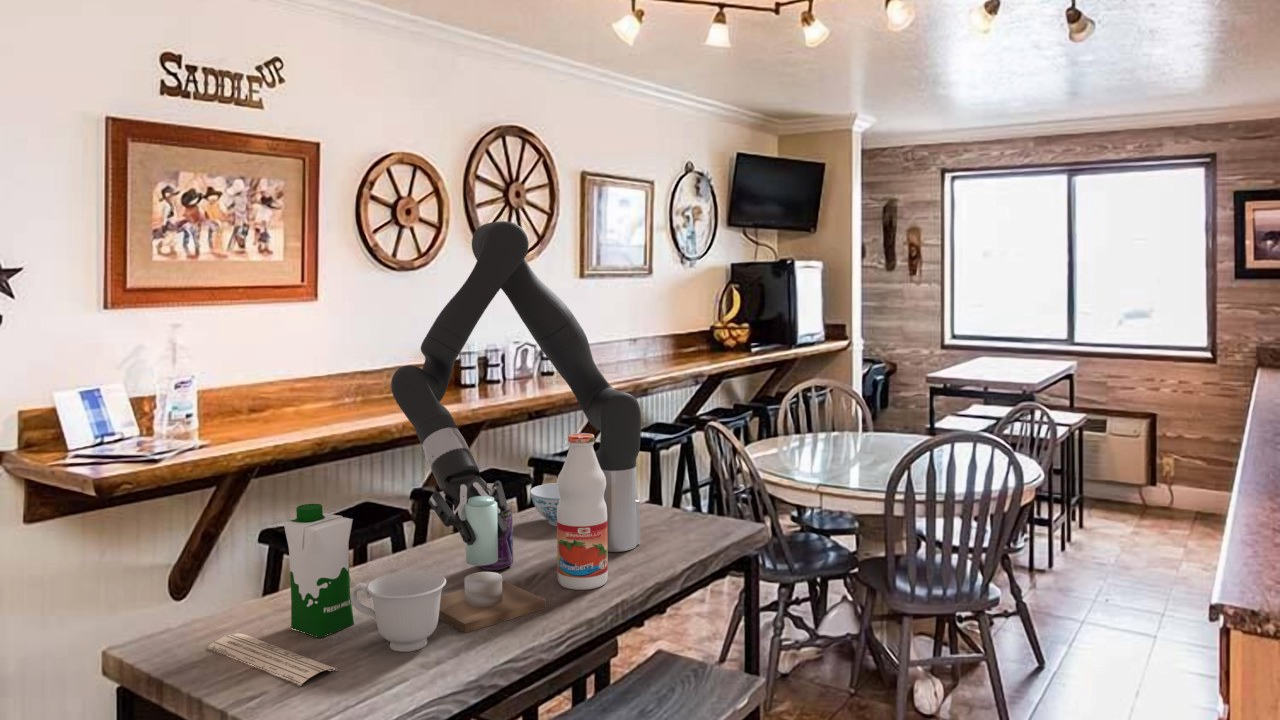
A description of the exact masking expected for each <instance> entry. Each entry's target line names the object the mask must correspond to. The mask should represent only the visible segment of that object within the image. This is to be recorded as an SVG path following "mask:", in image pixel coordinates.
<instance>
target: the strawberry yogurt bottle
mask: <svg viewBox="0 0 1280 720" xmlns="http://www.w3.org/2000/svg"><path fill="white" fill-rule="evenodd" d="M567 442H568V443H567V444H568V445H569V447H568V452H567V455H566V457H565V461H564V464H563V466H562V469H561V470H560V472H559V473H558V476H557V480H556V481H557V482H556V483H557V487H558V491H559V495H560V501H559V503H558V506H557V526H556V541H557V542H556V549H557V550H556V552H557V553H556V554H557V555H556V556H557V560H556V561H557V566H556V567H557V580H558V584H559V585H560V586H561V587H563V588H566V589H568V590H569V589H570V590H575V591H578V590H579V591H582V590H585V591H586V590H592V589H598V588H600V587H602V586H605V584H606V583H607V581H608V576H609V575H608V571H609V570H608V569H609V566H608V565H609V563H608V561H609V560H608V556H609V554H608V551H607V506H606V503H605V500H604V492H605V489H606V477H605V474H604V473H603V471H602V469H601V467H600V465H599V463H598V460H597V457H596V454H595V452H596V451H595V449H594V444H595V435H594V434H593V433H588V432H587V433H586V432H578V433H577V432H576V433H571V434H569V435H568V436H567Z"/></svg>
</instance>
